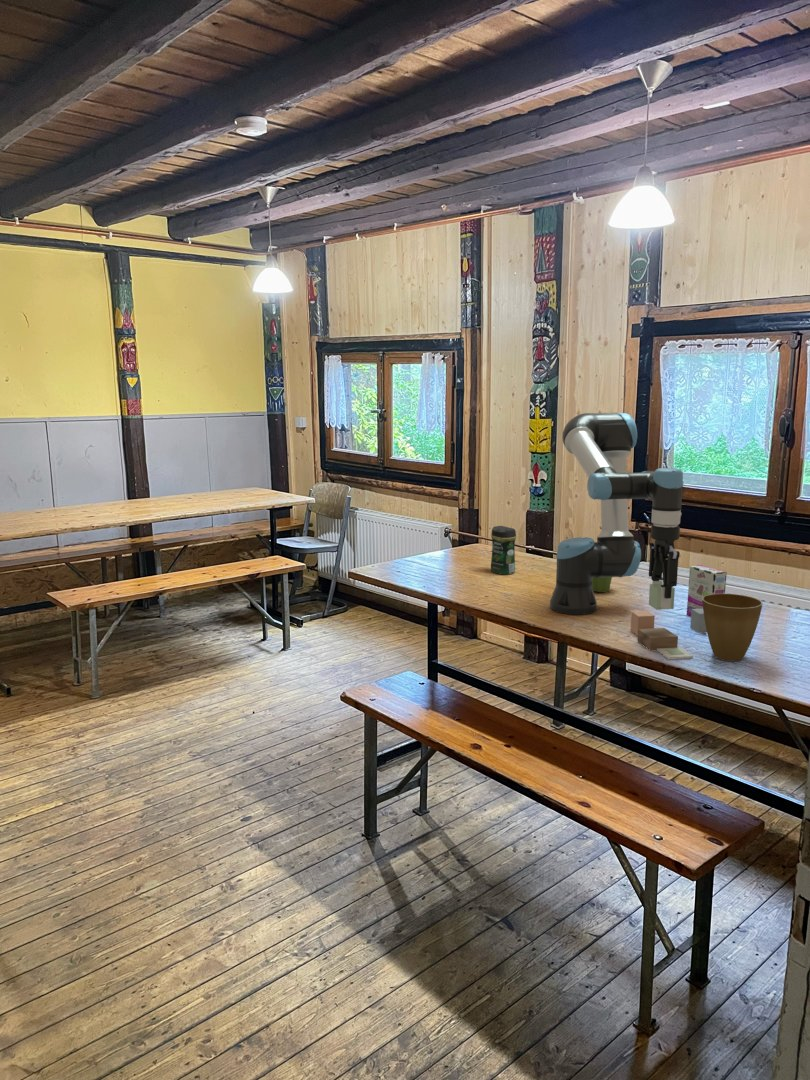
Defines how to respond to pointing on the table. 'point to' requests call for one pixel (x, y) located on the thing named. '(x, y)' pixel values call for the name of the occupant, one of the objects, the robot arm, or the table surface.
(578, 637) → the table surface
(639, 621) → the terracotta block
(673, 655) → the tile
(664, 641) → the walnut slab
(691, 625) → the slate block
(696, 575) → the candy bar box
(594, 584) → the plant pot
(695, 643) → the table surface
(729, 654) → the plant pot
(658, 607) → the sage block
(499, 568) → the coffee jar
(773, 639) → the table surface
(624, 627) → the table surface
